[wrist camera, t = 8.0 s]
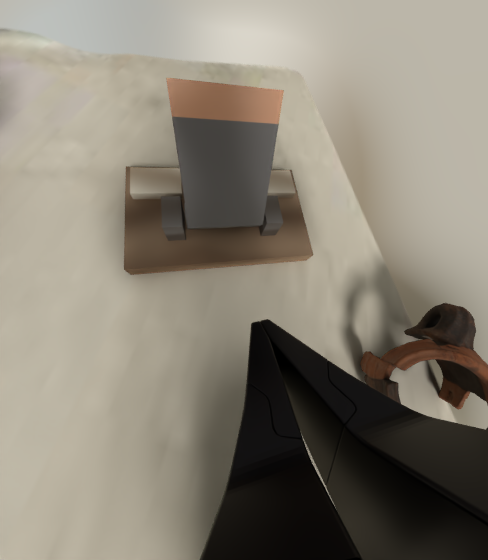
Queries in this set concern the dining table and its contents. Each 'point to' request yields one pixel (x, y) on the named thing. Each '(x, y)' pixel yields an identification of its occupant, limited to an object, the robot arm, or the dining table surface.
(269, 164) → the grey block
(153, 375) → the dining table surface
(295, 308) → the dining table surface
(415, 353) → the brown curved piece
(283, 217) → the brown rectangular slab
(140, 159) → the dining table surface
